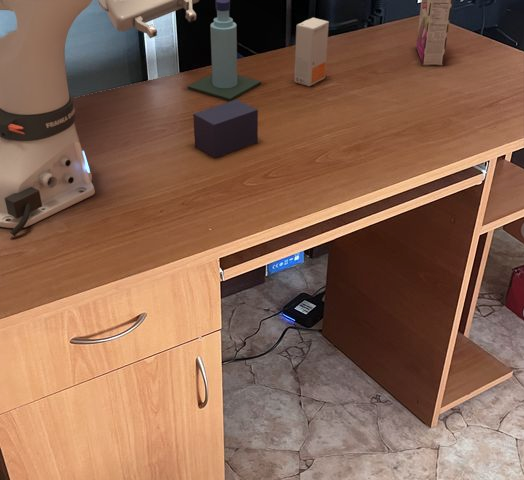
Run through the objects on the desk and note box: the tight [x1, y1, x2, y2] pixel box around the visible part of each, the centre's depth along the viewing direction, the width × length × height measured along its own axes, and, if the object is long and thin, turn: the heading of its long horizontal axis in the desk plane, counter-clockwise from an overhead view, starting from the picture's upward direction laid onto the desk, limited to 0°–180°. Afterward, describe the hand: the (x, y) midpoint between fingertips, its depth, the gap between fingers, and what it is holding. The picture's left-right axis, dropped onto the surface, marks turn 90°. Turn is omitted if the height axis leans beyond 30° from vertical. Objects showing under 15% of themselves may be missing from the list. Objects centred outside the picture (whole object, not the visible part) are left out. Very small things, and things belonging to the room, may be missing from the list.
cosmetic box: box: [293, 17, 330, 87], centre depth 164 cm, size 6×4×12 cm
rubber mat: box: [187, 73, 262, 102], centre depth 165 cm, size 11×11×1 cm
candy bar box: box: [415, 0, 453, 67], centre depth 173 cm, size 11×5×16 cm, turn 179°
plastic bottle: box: [209, 0, 238, 88], centre depth 159 cm, size 14×5×14 cm
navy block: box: [192, 98, 259, 159], centre depth 142 cm, size 6×10×6 cm, turn 130°
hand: (173, 26), depth 160 cm, fingers open, 8 cm apart
